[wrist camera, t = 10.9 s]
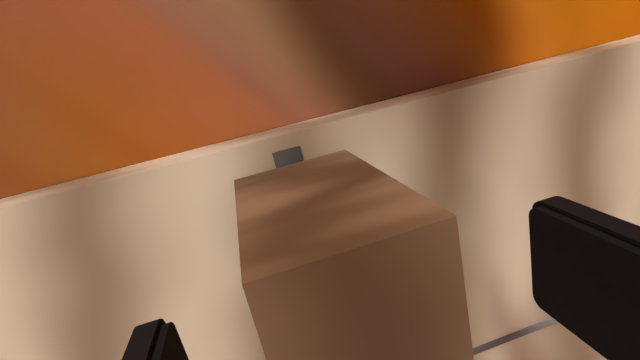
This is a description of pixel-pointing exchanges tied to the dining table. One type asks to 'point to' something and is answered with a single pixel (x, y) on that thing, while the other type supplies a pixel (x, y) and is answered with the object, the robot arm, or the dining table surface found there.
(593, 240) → the robot arm
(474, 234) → the board
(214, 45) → the dining table surface
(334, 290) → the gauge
